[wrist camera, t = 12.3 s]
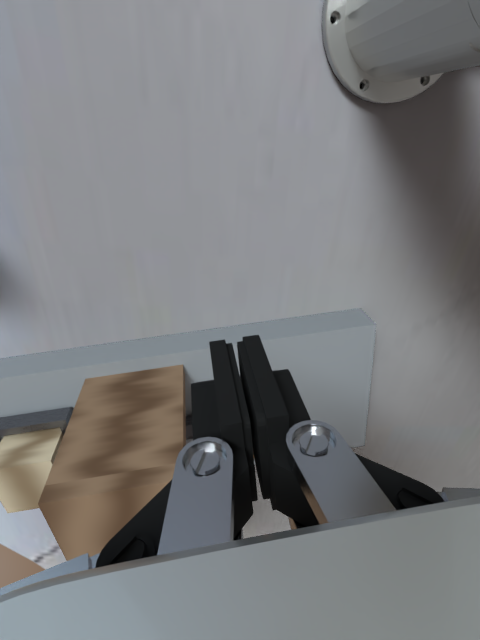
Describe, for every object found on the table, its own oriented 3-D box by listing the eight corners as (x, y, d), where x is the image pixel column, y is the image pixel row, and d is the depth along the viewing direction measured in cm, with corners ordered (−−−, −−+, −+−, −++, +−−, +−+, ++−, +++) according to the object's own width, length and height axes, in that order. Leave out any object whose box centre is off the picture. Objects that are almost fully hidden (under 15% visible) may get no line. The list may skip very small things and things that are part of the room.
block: (67, 416, 40) (50, 460, 35) (83, 456, 43) (69, 502, 38) (9, 425, 40) (-17, 471, 35) (29, 465, 43) (7, 513, 38)
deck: (360, 308, 44) (376, 324, 40) (352, 424, 52) (364, 445, 49) (-44, 364, 40) (-66, 387, 37) (16, 479, 49) (3, 507, 45)
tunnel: (182, 364, 39) (183, 478, 27) (201, 464, 46) (209, 593, 34) (85, 378, 39) (37, 504, 26) (119, 478, 46) (95, 616, 33)
